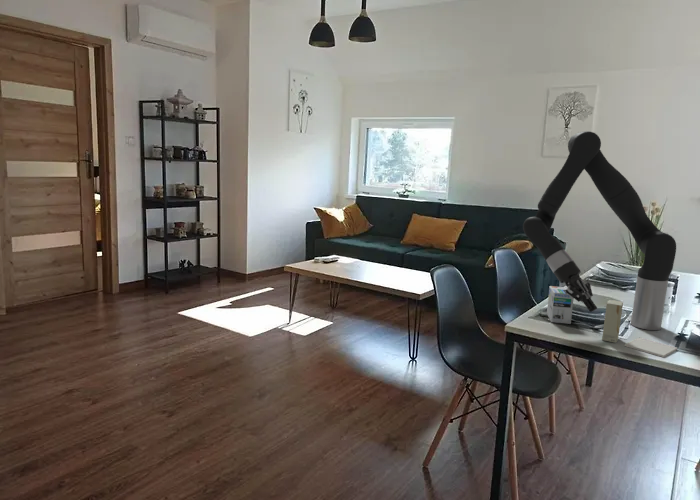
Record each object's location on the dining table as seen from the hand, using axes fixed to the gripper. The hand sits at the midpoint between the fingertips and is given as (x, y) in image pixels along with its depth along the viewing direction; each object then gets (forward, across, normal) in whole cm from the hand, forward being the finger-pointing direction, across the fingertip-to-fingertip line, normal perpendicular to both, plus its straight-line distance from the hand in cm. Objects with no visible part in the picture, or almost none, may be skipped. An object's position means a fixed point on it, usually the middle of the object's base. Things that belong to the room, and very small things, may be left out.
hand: (593, 310), depth 169 cm
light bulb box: (-4, +6, +16) cm, 18 cm away
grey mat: (+18, +3, -7) cm, 19 cm away
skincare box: (+10, 0, +1) cm, 10 cm away
